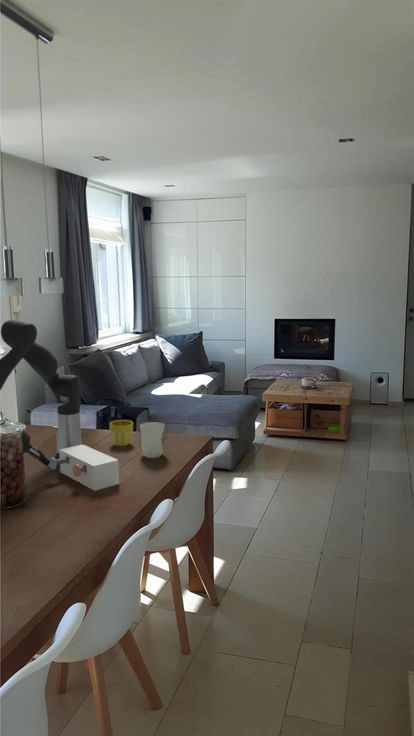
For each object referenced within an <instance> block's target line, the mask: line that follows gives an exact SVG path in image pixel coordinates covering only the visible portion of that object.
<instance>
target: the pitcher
mask: <svg viewBox="0 0 414 736" xmlns="http://www.w3.org/2000/svg"><path fill="white" fill-rule="evenodd" d="M139 428H140V433H139V438H138V439H139V441H138V442H139V447H140V451H141V453H142V455H144V457H145V458H148V459H156V458H160V457H161V456H162V454H163V453H164V450H165V448H166V443H167V440H166V439H167V438H166V433H165V428H166V427H165V423H164V422H160V421H159V422H157V421H149V422H148V421H147V422H143V423H141V424H139Z"/></svg>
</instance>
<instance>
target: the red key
mask: <svg viewBox="0 0 414 736" xmlns="http://www.w3.org/2000/svg"><path fill="white" fill-rule="evenodd" d="M84 471H86V466H85V465H84V466H79V464H74V465H73V473H74V475H75V476H76V477H78V476H80V475H81V472H84Z"/></svg>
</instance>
